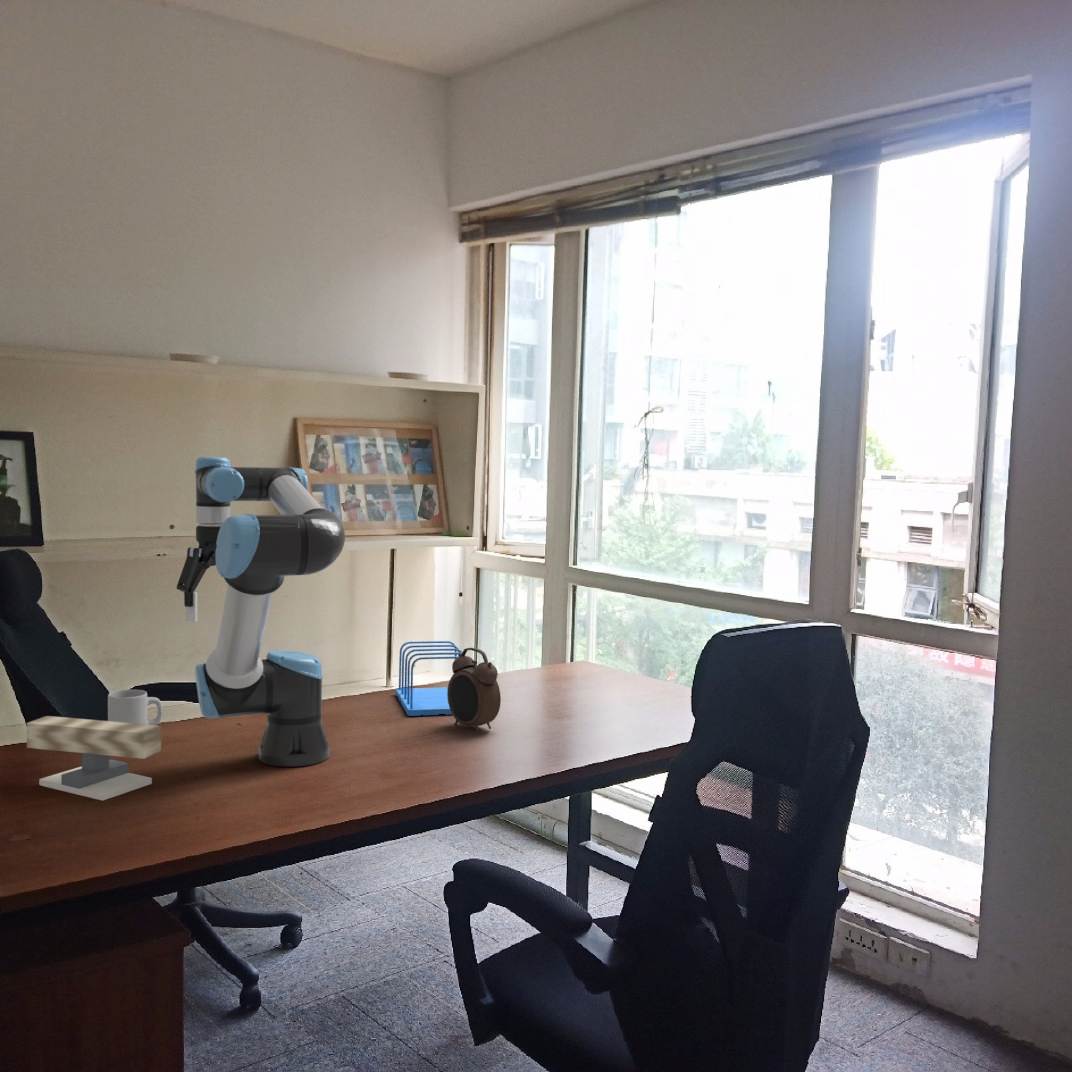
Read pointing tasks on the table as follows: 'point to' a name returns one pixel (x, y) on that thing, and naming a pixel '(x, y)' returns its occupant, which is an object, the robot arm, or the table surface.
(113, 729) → the oak bar
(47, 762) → the table surface
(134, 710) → the mug
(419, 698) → the file sorter
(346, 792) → the table surface
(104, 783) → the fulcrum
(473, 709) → the alarm clock
